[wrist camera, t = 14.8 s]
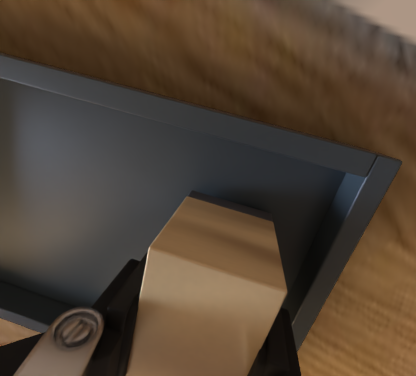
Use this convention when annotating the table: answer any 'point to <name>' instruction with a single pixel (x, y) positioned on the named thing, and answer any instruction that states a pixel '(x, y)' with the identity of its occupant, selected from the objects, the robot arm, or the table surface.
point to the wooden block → (207, 291)
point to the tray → (159, 188)
